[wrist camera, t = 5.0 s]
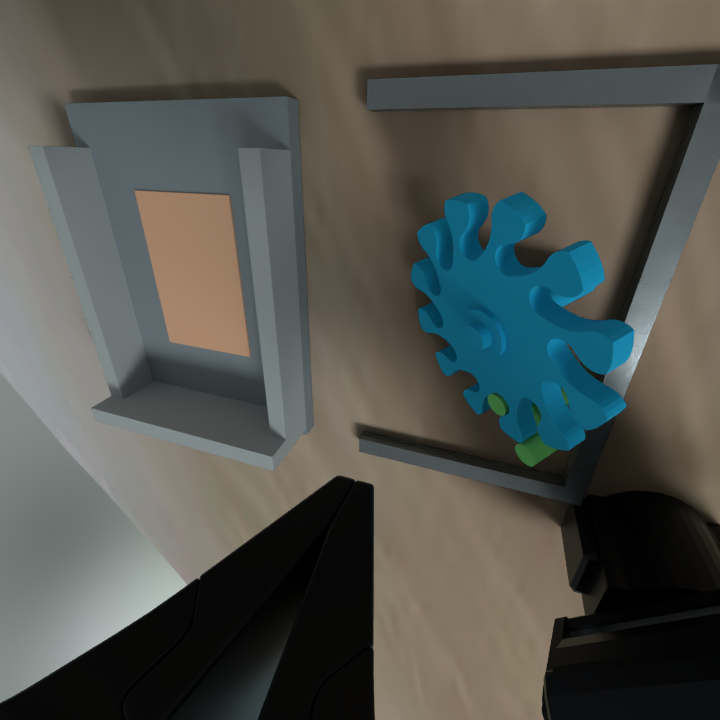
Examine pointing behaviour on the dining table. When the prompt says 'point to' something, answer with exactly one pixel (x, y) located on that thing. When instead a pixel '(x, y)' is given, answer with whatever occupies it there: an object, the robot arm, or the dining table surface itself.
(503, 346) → the gear
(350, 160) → the dining table surface
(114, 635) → the robot arm
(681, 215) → the frame
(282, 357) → the grey open tray
